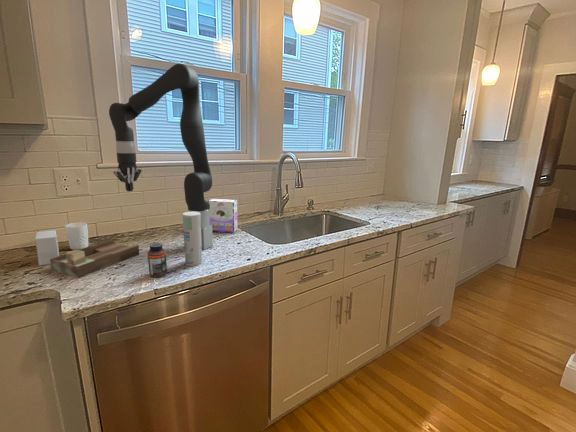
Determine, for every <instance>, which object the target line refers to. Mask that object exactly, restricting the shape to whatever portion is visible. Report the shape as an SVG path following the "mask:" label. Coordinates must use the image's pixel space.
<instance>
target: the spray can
mask: <svg viewBox="0 0 576 432" xmlns="http://www.w3.org/2000/svg"><path fill="white" fill-rule="evenodd" d="M182 229H183V230H182V231H183V245H184V259H185V260H184V261H185V265H186V266H187V267H188V266H189V267H196V266H199V265H201V264H202V262H203V254H202V253H203V249H202V245H201V214H200V212H194V211H192V212H188V211H185V212H183V213H182Z"/></svg>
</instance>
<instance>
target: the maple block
mask: <svg viewBox="0 0 576 432" xmlns="http://www.w3.org/2000/svg"><path fill="white" fill-rule="evenodd" d="M65 254H66V257H67V263H68V264H71V265H74V266H75V265H78V264H81V263H84V262H86V260H85V253H84V251H81V249H73V250H72V251H68V252H66V253H65Z"/></svg>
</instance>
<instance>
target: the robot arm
mask: <svg viewBox="0 0 576 432" xmlns="http://www.w3.org/2000/svg"><path fill="white" fill-rule="evenodd" d="M178 89H179V90H180V93H181V97H182V99H181V100H182V111H181V115H180V121H179V127H180V134H181V135H180V136H181V140H182V141H181V142H182V143H183V144H182V145H183V146H184V147H185V149H186V151H187V152H188V154H189V156H190V158H191V160H192V165H193V172H190V173H189V172H188V174H186V176H184V181H183V189H184V199H185V203H186V206H187V212H192V211H194V212H200V214H201V245H202V251H203V250H204V251H205V250H207V249H209V248H211V247H213V246H214V241H213V239H214V238H213V237H214V236H213V231H212V226H211V225H210V204H209V202H208V201H209V200H205V194H204V193H207V192H208V191H210V190H211V189H212V187H213V176H212V173H211V168H210V164H209V159H208V153H207V147H206V138H205V131H204V124H203V115H202V108H201V104H200V103H201V102H200V81H199V76H198V73H197V72H196V70H194V68H192V67H190V66H188V65H186V64H184V63H175V64H174V65H172V66H170V67H169V68H168V69H167V70H166V71H165V72H164V73H163V74H162V75H160V76H159V77H158V78H156V79H155V81H153V82H152V83H151V84H149V85H148V86H146V87H145V88H143V89H141V90H139V91H138V92H136V93H134V94H132V95H131V96H130V97H129V98H128V102H127V103H122V102H121V103H120V102H114V103H112V104H110V106H109V110H108V115H109V116H108V117H109V119H110V121H111V125H112V127H113V130H114V134H115V135H114V137H115V150H116V162H117V164H118V166H117V169H116V170H114V171H113V174H114V175H115V176H116V178H117V179H118V180H119V181H120V182H121V183H125V185H124V186H125V190H126V191H127V192H133V190H134V182H137V181H138V179H139V177H140V175H141V173H142V169H141V168H138V165H137V151H136V145H135V138H134V136H135V135H134V130H133V128H131V127H130V126H129V125H128V123H127V122H131V121H133V120H134V119H137V118H138V116H140V115H141V114H142V112H144V111H146V110H148V109H151V108H152V107H153V106H155V105H156V104H157V103H159V101H160V100H161V99H162V98H163V97H164V96H165V95H166V94H168V93H170V92H173V91H175V90H178Z"/></svg>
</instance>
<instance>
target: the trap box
mask: <svg viewBox="0 0 576 432" xmlns="http://www.w3.org/2000/svg"><path fill="white" fill-rule="evenodd" d="M80 250H81V251H84V253H85V260H86V262H84V263H81V264H78V265H75V266H74V265H71V264H68V263H67V257H66V253H65V254H63V255H59V256H58V257H55V258H52V259H50V262H51V264H50V269H51V270H52V271H55V272H59V273H61V274H65V275H68V276H70V277H74V278H77V279H80V278H83V277H86V276H88V275H90V274H94V273H95V272H98V271H101V270H103V269H106V268H108V267H111V266H114V265H116V264H119V263H121V262H124V261H126V260H129V259H131V258H134V257H137V256H139V255H140V248H139V245H135V246H128V245H124V244H120V243H116V242H115V239H111V240H108V241H104V242H101V243H98V244H95V245H91V246H88V247H86V248H83V249H80Z"/></svg>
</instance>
